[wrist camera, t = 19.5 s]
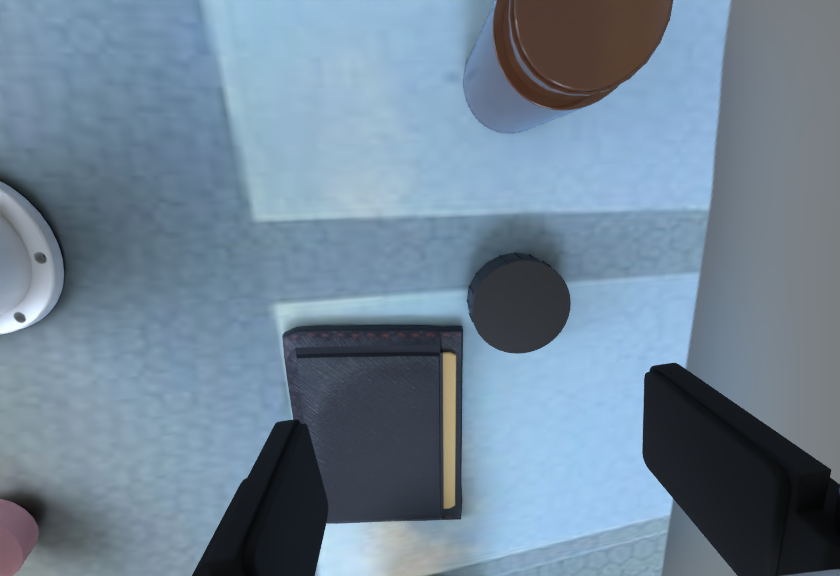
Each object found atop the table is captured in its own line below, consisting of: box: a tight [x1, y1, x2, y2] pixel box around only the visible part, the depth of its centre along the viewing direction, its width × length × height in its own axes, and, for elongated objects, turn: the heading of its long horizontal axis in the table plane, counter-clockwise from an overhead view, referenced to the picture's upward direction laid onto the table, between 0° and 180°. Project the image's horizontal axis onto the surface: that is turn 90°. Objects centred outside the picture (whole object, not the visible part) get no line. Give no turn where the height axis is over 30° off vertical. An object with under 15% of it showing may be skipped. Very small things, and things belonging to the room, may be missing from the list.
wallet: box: [283, 325, 463, 523], centre depth 34 cm, size 20×2×15 cm
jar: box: [463, 0, 673, 134], centre depth 21 cm, size 7×7×13 cm
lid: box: [467, 253, 570, 353], centre depth 30 cm, size 7×7×3 cm
